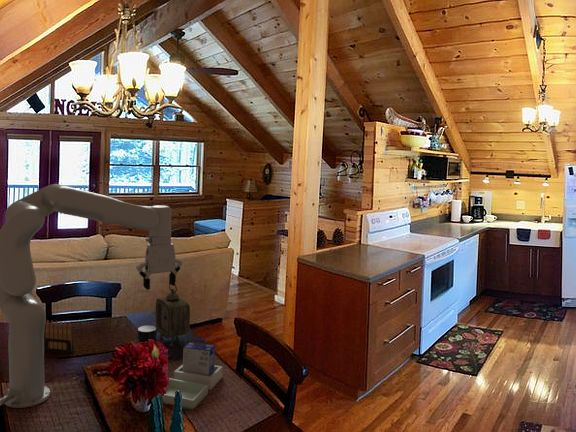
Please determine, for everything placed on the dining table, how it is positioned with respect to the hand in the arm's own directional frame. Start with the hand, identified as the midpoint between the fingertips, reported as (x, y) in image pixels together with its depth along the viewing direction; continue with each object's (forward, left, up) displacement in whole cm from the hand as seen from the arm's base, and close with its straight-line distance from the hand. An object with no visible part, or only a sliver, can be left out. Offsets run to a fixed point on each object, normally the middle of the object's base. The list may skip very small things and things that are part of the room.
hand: (159, 286), depth 175 cm
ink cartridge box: (-7, -20, -29) cm, 36 cm away
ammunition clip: (-5, +39, -29) cm, 49 cm away
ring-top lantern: (+20, +5, -29) cm, 36 cm away
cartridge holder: (-7, -20, -29) cm, 36 cm away
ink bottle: (+1, +5, -29) cm, 30 cm away
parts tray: (-20, -20, -29) cm, 40 cm away
